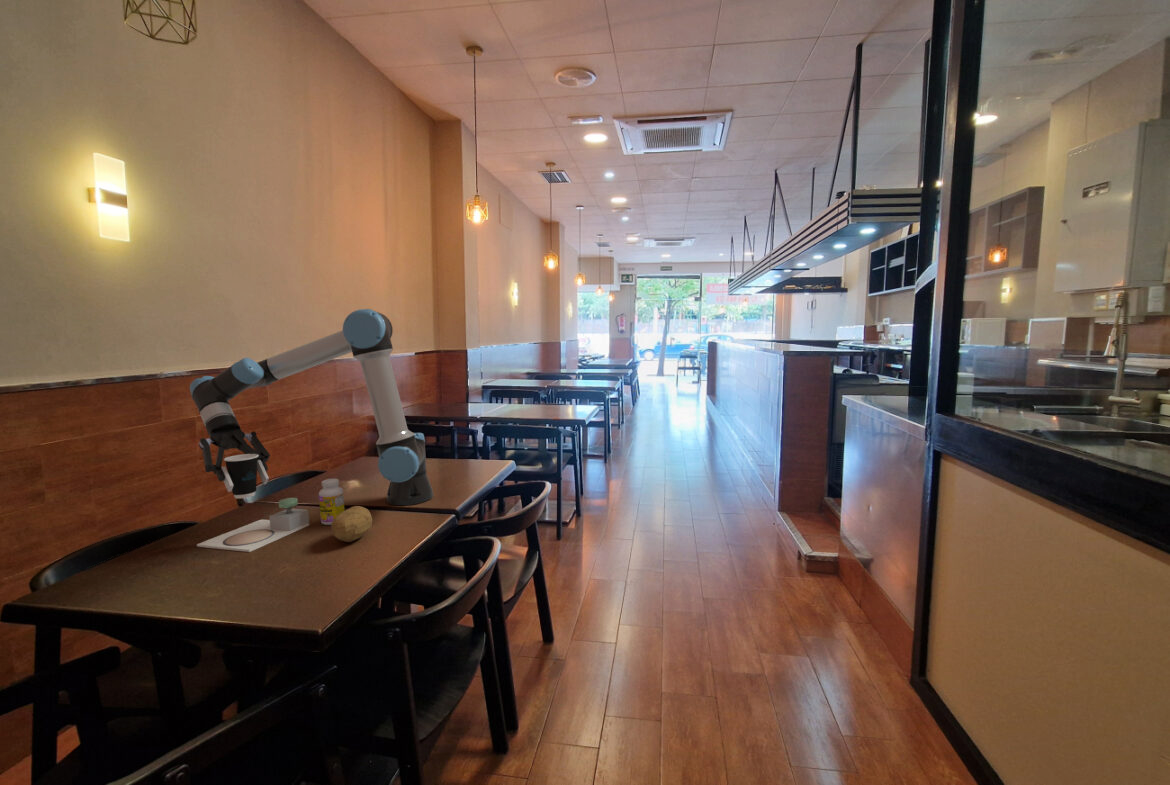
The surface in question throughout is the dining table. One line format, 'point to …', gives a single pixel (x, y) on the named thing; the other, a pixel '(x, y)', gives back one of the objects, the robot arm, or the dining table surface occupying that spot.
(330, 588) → the dining table surface
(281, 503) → the button
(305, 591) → the dining table surface
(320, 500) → the supplement bottle
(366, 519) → the potato
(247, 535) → the grey base with block
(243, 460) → the dixie cup
